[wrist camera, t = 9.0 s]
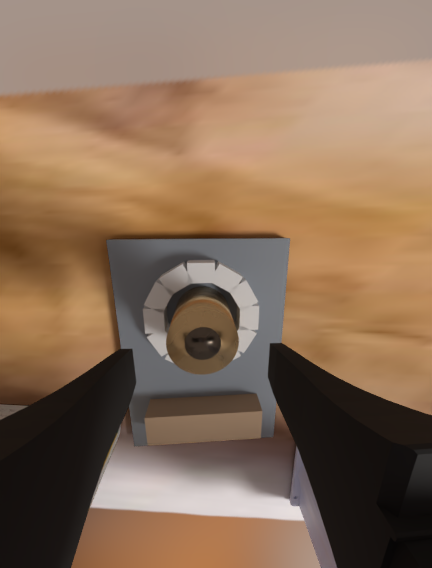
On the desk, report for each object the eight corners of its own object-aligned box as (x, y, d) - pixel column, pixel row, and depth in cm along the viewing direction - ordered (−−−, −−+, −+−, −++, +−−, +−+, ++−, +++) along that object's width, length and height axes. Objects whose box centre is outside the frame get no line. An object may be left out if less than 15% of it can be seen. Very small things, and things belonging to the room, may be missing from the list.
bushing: (228, 334, 18) (238, 373, 13) (177, 336, 18) (168, 377, 13) (228, 285, 17) (239, 308, 12) (174, 287, 17) (163, 311, 12)
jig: (270, 427, 22) (280, 457, 19) (137, 436, 22) (127, 468, 19) (285, 237, 17) (301, 239, 14) (111, 239, 16) (92, 241, 14)
